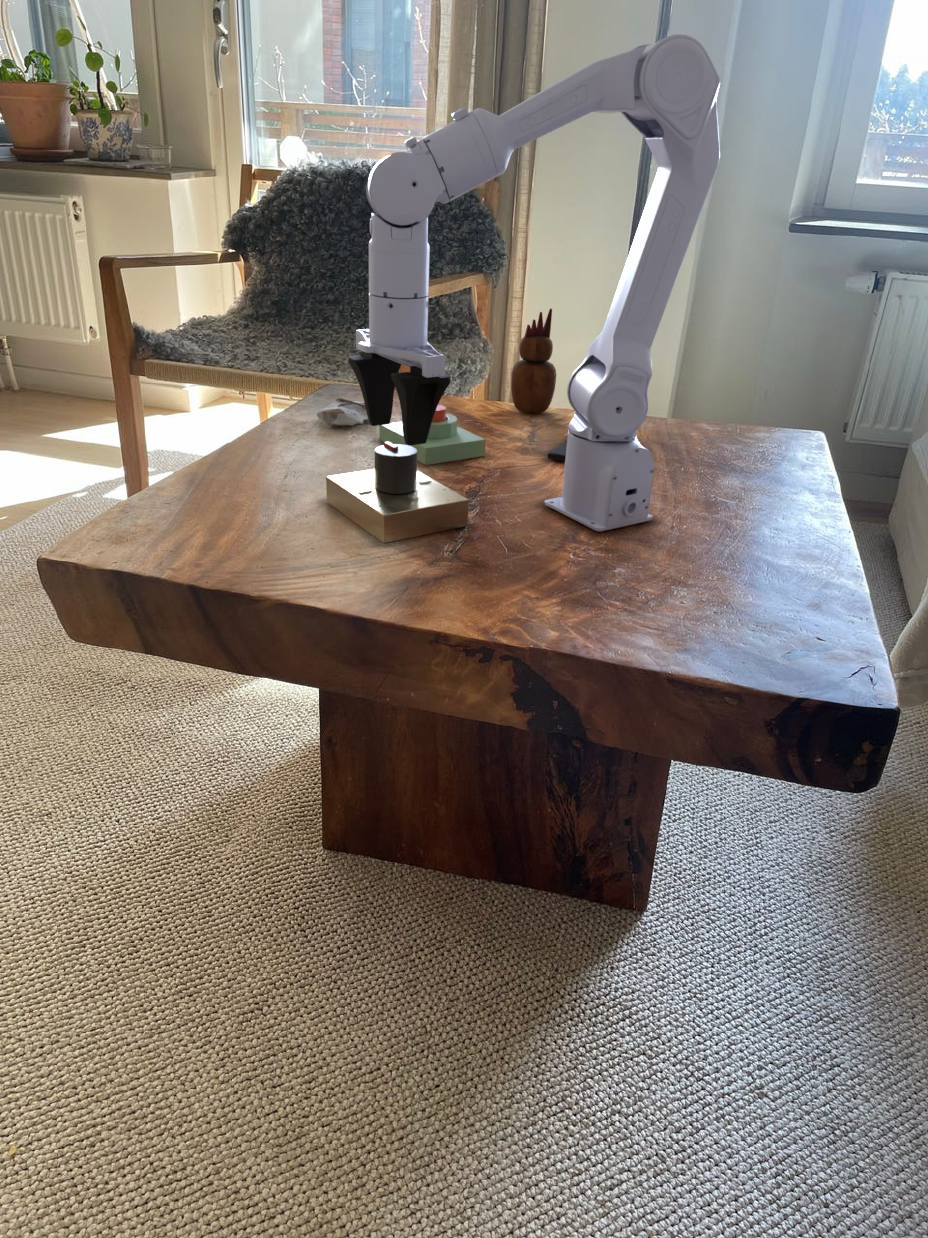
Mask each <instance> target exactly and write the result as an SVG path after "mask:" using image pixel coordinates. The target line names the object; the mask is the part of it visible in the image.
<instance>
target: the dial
mask: <svg viewBox="0 0 928 1238" xmlns="http://www.w3.org/2000/svg"><path fill="white" fill-rule="evenodd" d="M374 469H375V488H376V489H377V490H379V491H381V492H385V493H391V494H402V493H408V492H412V491H414V490H415V489H416V487H417V471H418V461H417V449H416V448H414V447H411V446H408V445H402V444H392V443H390V442H383V444H382V445H379V446H376V447H375V449H374Z"/></svg>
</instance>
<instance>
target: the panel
mask: <svg viewBox="0 0 928 1238" xmlns="http://www.w3.org/2000/svg"><path fill="white" fill-rule="evenodd" d="M325 490H326V503H327V504H329V506H331V507H333V508H334V509H336V511H338V512H340V513H341V514H343V515H344V516H345V517H346V518H348V519H349V520H350V521H352V522H354V523H355V524H356V525H358V526H359V527H360V528H362V529H363V530H365V532H367V533H369V534H370V535H372V536H373V537H374V538H376V539H377V540H378V541H380V542H382V543H383V544H386V543H391V542H396V541H400V540H407V539H411V538H416V537H422V536H426V535H431V534H435V533H436V534H437V533H441V532H445V531H450V530H455V529H461V528H466V527H468V522H469V502H470V499H468V498H467V497H465V496H464V495H462V494H460V493H458V492H456V491H455V490H453V489H451V488H449V487H447V486H446V485H444V484H442V483H441V482H439V481H437V480H435V479H434V478H432V477H430V476H428V475H426V474H425V473H423V472H421V471H419V470H417V487H416V489H415V490H414V491H412V492H408V493H402V494H391V493H385V492H381V491H379V490H377V489H376V488H375V468H371V469H365V470H359V471H351V472H345V473H339V474H332V475H326V476H325Z"/></svg>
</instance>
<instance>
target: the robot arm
mask: <svg viewBox="0 0 928 1238" xmlns="http://www.w3.org/2000/svg"><path fill="white" fill-rule="evenodd" d="M720 85H721V78H720V76H719V73H718V71H717V70H716V68H715V65H714V63H713V62H712V59H711V58H710V56H709V53H708V52H707V50H706V48H705V47H704V46H703V44H702V43H701V42H700V41H699V40H698V39H696V38H694V37H692V36H691V35H687V34H681V33H680V34H679V33H678V34H672V35H668V36H666V37H664V38H662V39H660V40H659V41H657V42H654V43H651V44H650V43H649V44H642V45H638V46H636V47H634V48H632V49H631V50H628V51H625V52H621V53H619V54H615V55H612V56H609V57H606V58H603V59H600V60H596V61H593V62H590V63H589V64H586V65H584V66H582V67H581V68H579V69H577V70H575V71H573V72H572V73H570V74H568V75H567V76H565V77H564V78H562V79H559V80H558V81H556V82H554V83H553V84H551V85H550V86H547V87H546V88H544V89H542V90H541V91H539V92H537V93H536V94H534V95H532V96H531V97H529V98H527V99H526V100H524V101H522V102H519V103H518V104H516V105H515V106H513V107H511V108H510V109H508V110H506V111H504V112H502V113H501V114H499V115H498V114H495V113H493V112H491V111H489V110H486V109H484V108H482V107H481V108H480V107H477V108H476V109H473V110H471V111H470V112H469V111H468V109H467V107H462V108H460V109H458V110H456V111H454V112H453V113H451V118H452V120H453V121H451V122H449V123H447V124H446V125H444V126H442V127H440V128H438V129H437V130H434V131H432V132H431V133H429V134H427V135H425V136H424V137H422V138H420V139H418V140H417V137H415V136H410V138H408V139H406V140H405V141H404V145H405V147H406V151H407V152H406V151H395V152H391V154H389V155H386V156H385V157H382V158H381V159H380V160H379V161H378V162H376V163H375V165H374V166H373V167H372V169H371V171H370V173H369V176H368V181H367V185H366V186H365V194H366V198H367V201H368V203H369V205H370V207H371V209H372V210H373V211H374V212H371V218H370V220H369V233H370V235H371V238H370V240H369V242H368V328H366V329H365V328H363V329H356V330H355V349H356V350H358V351H360V352H359V354H355V355H354V354H353V355H349V356H348V357H347V358H348V359H347V360H348V364H349V365H350V368H351V369H352V371H353V373H354V375H355V377H356V380H357V382H358V385H359V388H360V391H361V394H362V399H363V402H364V403H365V407H366V412H367V416H368V420H369V421H368V423H369V426H372V427H377V426H379V425H386V424H390V423H391V419H392V415H393V407H394V406H393V405H394V397H395V390H396V393H397V397H398V401H399V405H400V411H401V421H402V425H403V435H404V440H405V444H407V445H418V444H425V443H426V441H427V438H428V434H429V431H430V427H431V423H432V420H433V417H434V414H435V411H436V408H437V406H438V405H439V403H440V400H441V399H442V398H443V395H444V394H445V392H446V390H447V389H448V388H449V386H450V385H451V382H452V381H451V380H452V376H451V375H450V374H448V373H446V355H445V354H442V353H441V352H439V351H437V349H436V348H435V347H434V346H433V345H432V344H431V343H430V342H429V341H428V325H429V292H430V291H429V290H430V289H429V288H430V287H429V286H430V285H429V284H430V253H431V252H430V251H431V250H430V249H431V247H430V246H431V245H430V244H429V242H428V241H429V240H428V239H429V238H428V237H429V215H430V214H431V212H432V211H433V208H434V206H435V204H436V203H440V204H442V205H446V204H448V203H450V202H452V201H453V200H456V199H457V198H459V197H461V196H463V195H466V194H467V193H469V192H471V191H473V190H474V189H476V188H478V187H480V186H482V185H484V184H486V183H488V182H489V181H491V180H493V179H495V178H497V177H499V176H502V175H503V174H505V173H506V170H507V169H508V166H509V162H510V159H511V156H512V154H513V152H514V151H515V150H517V149H519V148H521V147H522V146H525V145H527V144H529V143H532V142H533V141H535V140H537V139H539V138H542V137H543V136H546V135H548V134H550V133H552V132H554V131H555V130H558V129H560V128H562V127H564V126H566V125H569V124H570V123H572V122H575V121H576V120H578V119H581V118H582V117H585V116H586V115H589V114H590V113H598V114H609V115H610V114H617V113H620V114H621V115H622V116H623V117H624V118H625V119H626V121H628V122H629V123H630V124H631V125H632V126H633V127H634V128H635V129H636V130H637V131H638V132H639V133H640V134H641V135H642V136H643V138H644V140H645V142H646V145H647V146H648V148H649V150H650V152H651V154H652V157H653V158H654V162H655V163H656V165H657V171H656V174H655V177H654V180H653V182H652V185H651V188H650V192H649V194H648V197H647V199H646V203H645V205H644V209H643V211H642V215H641V217H640V221H639V223H638V227H637V229H636V232H635V235H634V238H633V240H632V243H631V247H630V249H629V252H628V256H627V259H626V261H625V264H624V267H623V270H622V272H621V274H620V275H621V276H620V279H619V281H618V284H617V287H616V290H615V293H614V296H613V299H612V302H611V303H610V304H611V305H610V307H609V310H608V313H607V316H606V320H605V322H604V325H603V328H602V330H601V332H600V333H599V334H598V336H597V337H595V339H594V340H593V341H592V342H591V344H590V345H589V347H588V350H587V353H586V355H585V357H584V359H583V361H582V362H581V363H580V365H578V366H577V368H575V369H574V370H573V372H572V373H571V376H570V377H569V379H568V383H567V388H566V395H567V396H566V397H567V400H568V403H569V405H570V406H571V408H572V409H573V410H574V414H573V417H572V419H571V420H570V422H569V423H568V430H567V439H566V440H567V449H566V459H565V462H564V469H563V470H564V471H563V482H562V490H561V496H560V497H553V498H549V499H548V498H547V499H544V503H543V504H544V505H545V506H546V507H548V508H550V509H552V510H554V511H555V512H558V513H560V514H562V515H564V516H566V517H568V518H569V519H572V520H574V521H575V522H578V523H580V524H582V525H584V526H586V527H587V528H589V529H591V530H593V531H595V532H605V531H611V530H614V529H619V528H623V527H628V526H631V525H632V526H633V525H636V524H640V523H645V522H650V521H653V520H654V519H653V518H654V516H653V515H652V514H650V513H649V509H650V502H651V496H652V488H653V482H654V477H655V476H654V475H655V460H654V456H653V454H652V453H651V451H650V450H649V449H647V448H646V447H645V446H643V445H642V444H641V442H640V441H639V439H638V436H637V434H638V430H639V429H640V428H641V426H642V425H643V424H644V422H645V420H646V419H647V416H648V410H649V401H648V400H649V398H648V397H649V396H648V391H649V385H650V382H651V379H652V377H653V363H652V362H653V361H652V353H651V351H652V349H651V348H652V346H653V344H654V340H655V337H656V335H657V332H658V329H659V327H660V324H661V322H662V319H663V316H664V313H665V310H666V308H667V306H668V302H669V300H670V298H671V294H672V291H673V290H674V286H675V283H676V281H677V278H678V275H679V273H680V270H681V267H682V265H683V262H684V259H685V256H686V253H687V251H688V248H689V246H690V243H691V241H692V237H693V235H694V232H695V229H696V227H697V224H698V222H699V218H700V217H701V214H702V211H703V207H704V205H705V202H706V200H707V197H708V194H709V192H710V189H711V186H712V184H713V180H714V178H715V176H716V173H717V170H718V168H719V163H720V159H721V148H720V147H721V146H720V133H719V118H718V106H717V105H718V104H717V98H718V94H719V90H720ZM402 365H403V366H405V367H407V368H408V369H409V371H404V372H400V370H401V366H402Z"/></svg>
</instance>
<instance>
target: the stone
mask: <svg viewBox="0 0 928 1238" xmlns="http://www.w3.org/2000/svg"><path fill="white" fill-rule="evenodd" d="M316 416H317V418H318V419H319V420H321V421H323V422H324V423H325V425H326V426H328V427H335V426H349V427H353V426H354V425H356V424H359V425H363V424H365V422H366V423H367V422H368V423H369V420H368V416H367V412H366V407H365V403H364V401H356V400H349V399H346V398H341V397H337V398H336V399H335V400H334V401H333V402H331V403H329V404H328V405H327V406H326V407H324V408H323V407H322V408H319V409H318V410H317V411H316Z"/></svg>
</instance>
